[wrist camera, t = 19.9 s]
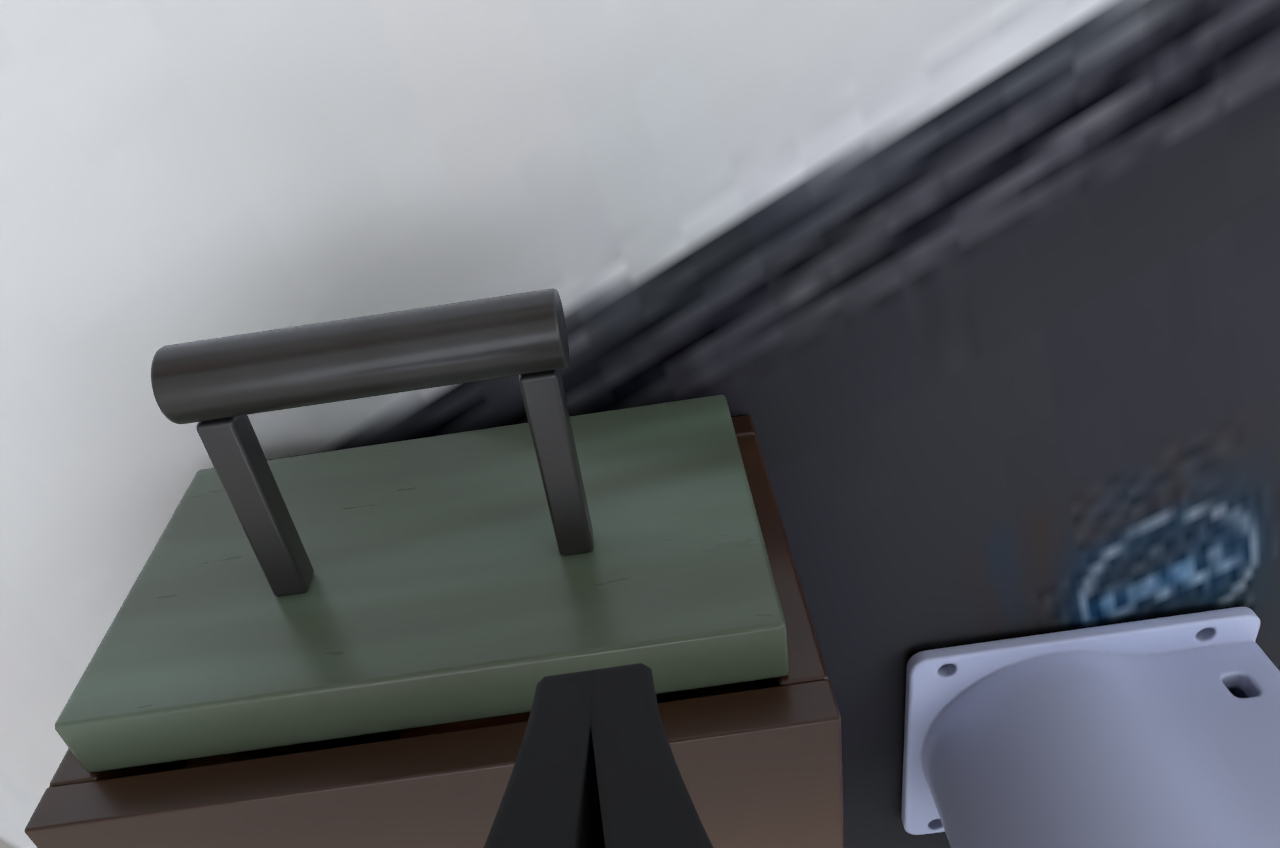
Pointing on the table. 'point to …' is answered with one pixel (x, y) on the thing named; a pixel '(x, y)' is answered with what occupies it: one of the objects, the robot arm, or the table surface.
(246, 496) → the drawer
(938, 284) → the table surface
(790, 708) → the cabinet
